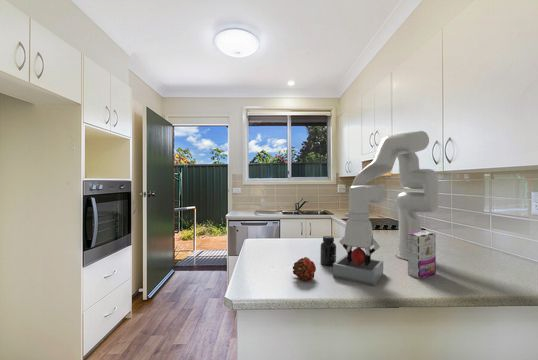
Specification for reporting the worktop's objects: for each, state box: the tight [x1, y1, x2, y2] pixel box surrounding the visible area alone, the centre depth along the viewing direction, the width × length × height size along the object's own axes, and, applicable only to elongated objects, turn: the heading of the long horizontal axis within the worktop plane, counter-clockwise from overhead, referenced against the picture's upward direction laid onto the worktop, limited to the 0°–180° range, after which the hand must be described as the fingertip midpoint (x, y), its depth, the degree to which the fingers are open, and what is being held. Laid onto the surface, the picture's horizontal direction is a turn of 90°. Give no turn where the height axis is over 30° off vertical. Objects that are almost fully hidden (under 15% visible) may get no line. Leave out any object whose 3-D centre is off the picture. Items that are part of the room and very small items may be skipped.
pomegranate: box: [351, 247, 366, 266], centre depth 102 cm, size 6×6×8 cm
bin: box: [332, 254, 384, 287], centre depth 102 cm, size 15×15×5 cm
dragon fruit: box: [292, 256, 317, 282], centre depth 99 cm, size 8×8×12 cm
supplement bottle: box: [319, 235, 337, 267], centre depth 115 cm, size 7×7×12 cm
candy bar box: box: [407, 230, 437, 279], centre depth 103 cm, size 11×5×16 cm, turn 117°
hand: (358, 262), depth 102 cm, fingers closed on pomegranate, 5 cm apart
